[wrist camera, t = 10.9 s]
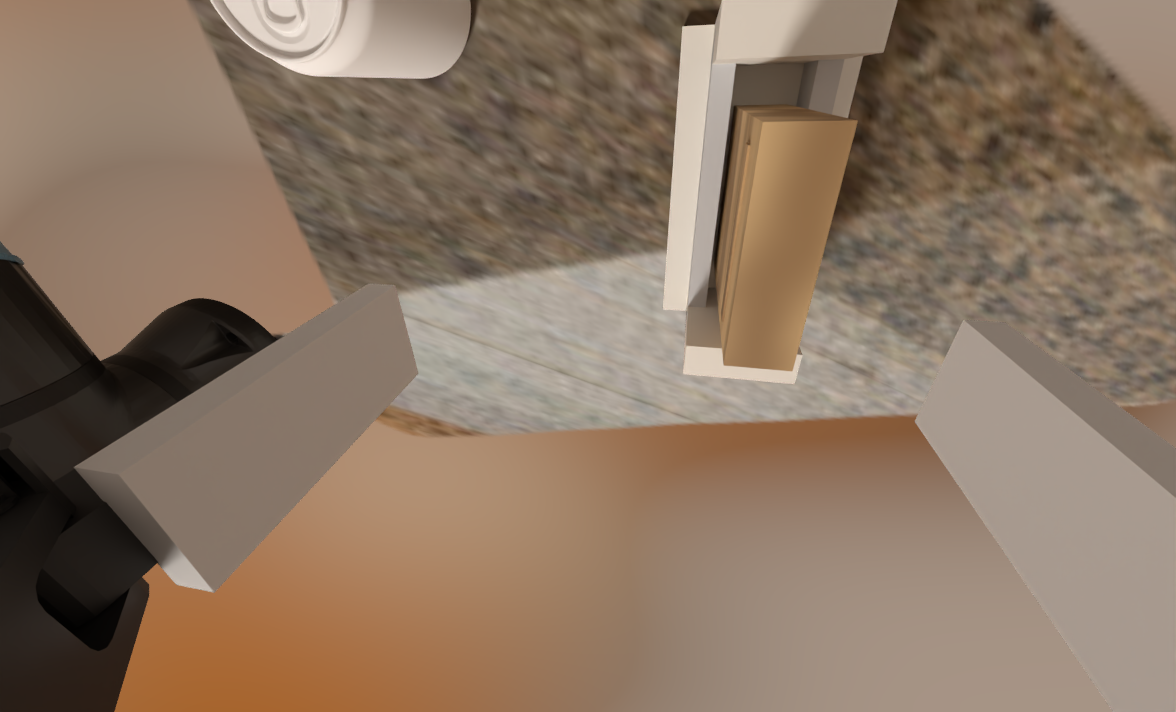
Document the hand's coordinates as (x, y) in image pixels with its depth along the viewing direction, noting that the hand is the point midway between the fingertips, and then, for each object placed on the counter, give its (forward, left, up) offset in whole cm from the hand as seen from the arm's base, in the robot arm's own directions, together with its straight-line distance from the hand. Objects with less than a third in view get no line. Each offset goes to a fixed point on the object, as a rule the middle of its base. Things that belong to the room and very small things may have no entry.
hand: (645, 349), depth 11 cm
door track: (+5, -1, -23) cm, 24 cm away
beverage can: (-17, +10, -24) cm, 31 cm away
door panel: (+4, -1, -23) cm, 23 cm away
